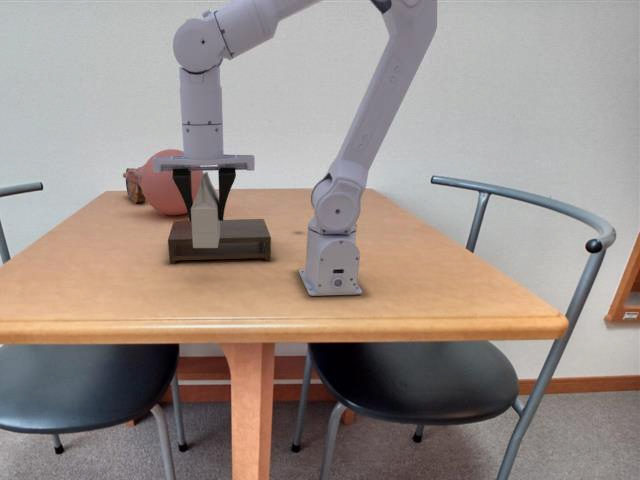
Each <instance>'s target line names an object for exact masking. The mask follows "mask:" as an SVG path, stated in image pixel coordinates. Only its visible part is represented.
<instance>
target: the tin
mask: <svg viewBox="0 0 640 480" xmlns="http://www.w3.org/2000/svg"><path fill="white" fill-rule="evenodd" d="M136 169H137V168H131V167H130V168H129V167H127V168H126V170H125V173H126V172H128V171H129V170H134V171H135V170H136ZM125 186H126V193H127V196H128V198H129V199H130V200H131V201H132V202H133V203H134V204H138V203H139V204H140V203H145V202H146V201H147V200H146V198H145V197H144V194H143V192H142V189H141V187H140V186H139V185H136V184H135V185H133V184H132V183H131V182H129V181H128V180H127V179H126V178H125Z"/></svg>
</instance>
